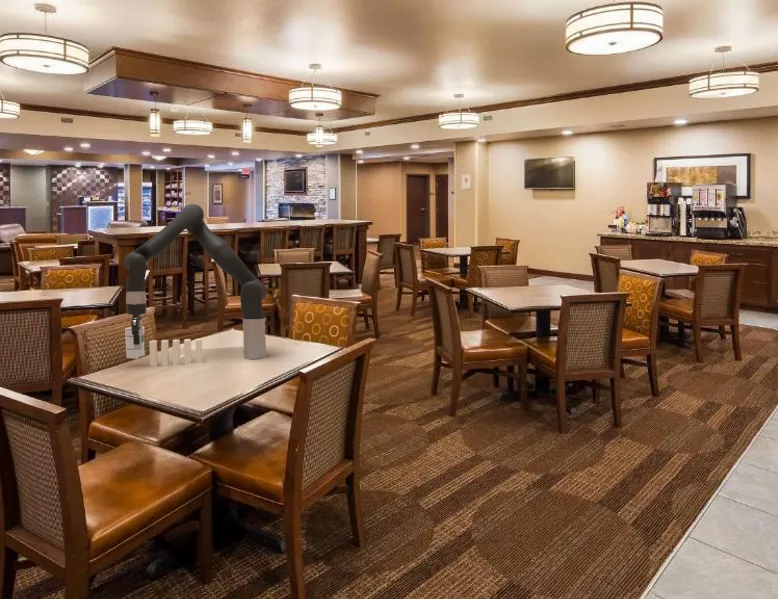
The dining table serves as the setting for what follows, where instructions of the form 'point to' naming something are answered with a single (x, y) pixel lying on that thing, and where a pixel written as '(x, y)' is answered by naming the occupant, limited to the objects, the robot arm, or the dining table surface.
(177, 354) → the domino
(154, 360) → the domino
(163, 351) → the domino
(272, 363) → the dining table surface
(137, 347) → the domino
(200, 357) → the domino
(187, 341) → the domino
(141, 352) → the syrup box
